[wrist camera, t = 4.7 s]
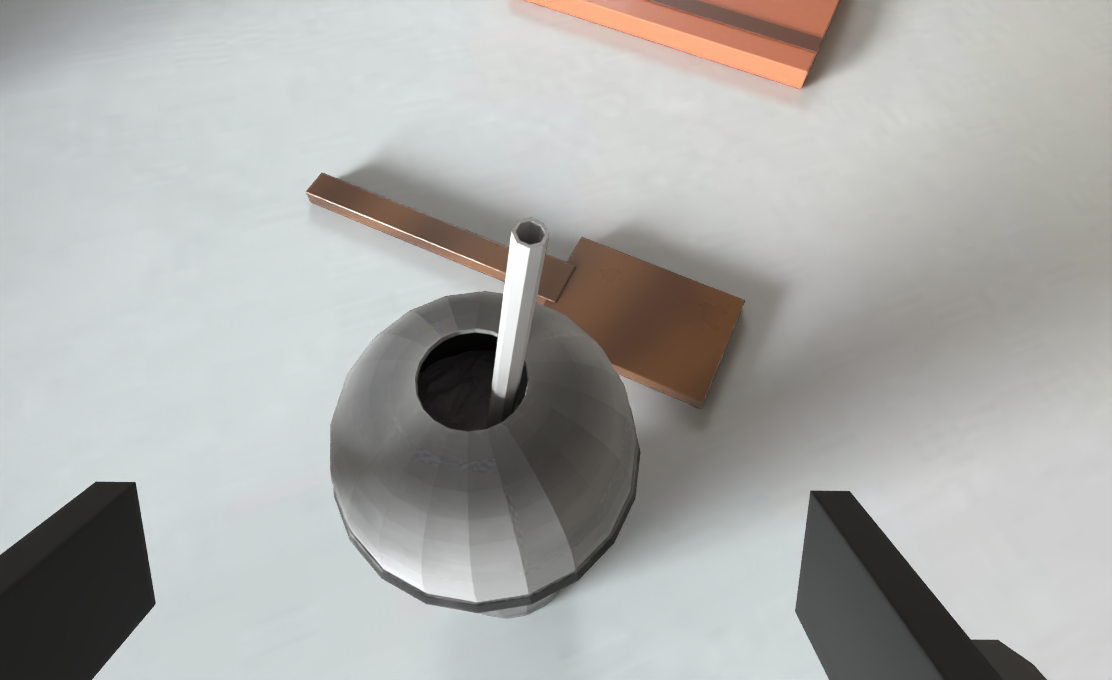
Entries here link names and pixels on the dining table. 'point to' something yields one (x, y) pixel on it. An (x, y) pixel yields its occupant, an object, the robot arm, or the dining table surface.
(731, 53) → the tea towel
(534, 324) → the beverage cup
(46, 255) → the dining table surface
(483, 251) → the spatula
